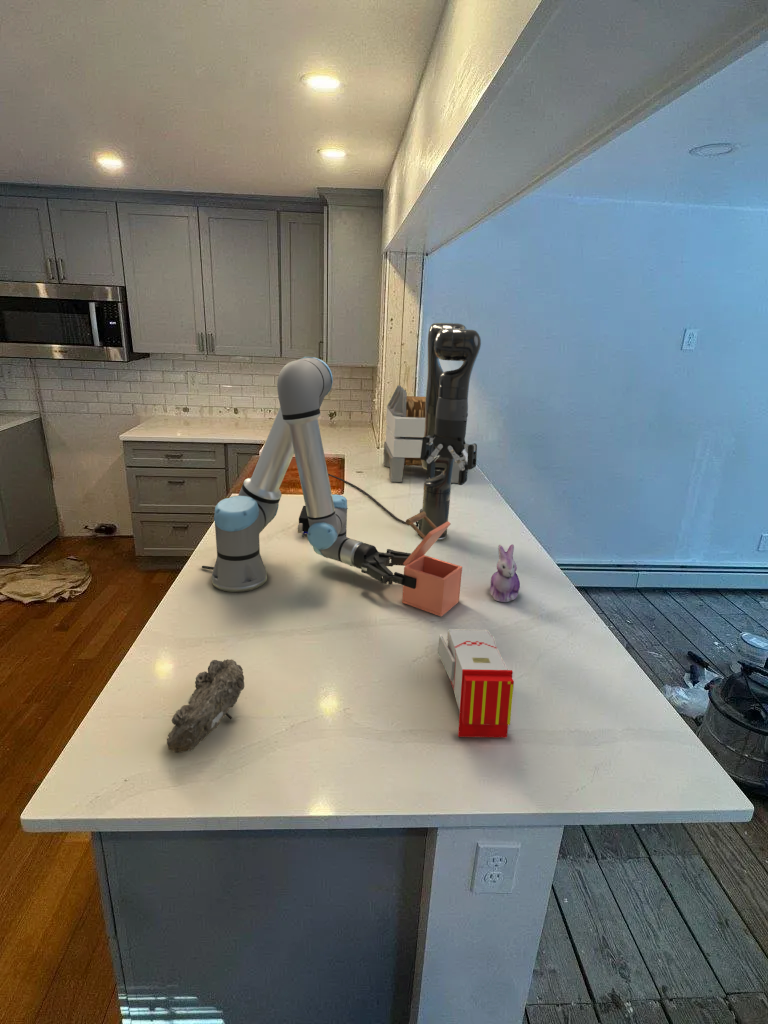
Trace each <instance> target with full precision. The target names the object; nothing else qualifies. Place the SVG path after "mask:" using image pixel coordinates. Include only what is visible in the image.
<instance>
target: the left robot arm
mask: <svg viewBox="0 0 768 1024" xmlns="http://www.w3.org/2000/svg"><path fill="white" fill-rule="evenodd" d="M276 380H277V382H276V383H277V384H276V388H277V389H276V390H277V399H278V401H279V408H278V411H277V413H276V416H275V419H274V421H273V423H272V426H271V428H270V431H269V433H268V436H267V438H266V440H265V442H264V446H263V448H262V449H261V453H260V455H259V458H258V460H257V462H256V465H255V467H254V470H253V473H252V474H251V476H250V477H247V478H246V479H244V480H243V483H242V485H241V487H240V490H239V493H238V494H237V495H233V496H229V498H226V497H225V498H223V499H221V500H220V501H219V502H217V504H216V505H215V507H214V514H213V515H214V517H213V522H214V531H215V543H216V544H215V545H216V558H215V563H214V566H208V565H201V569H203V570H204V569H205V570H210V571H211V570H212V572H211V584H212V586H213V587H214V588H216V589H218V590H220V591H223V592H227V593H244V592H250V591H253V590H256V589H258V588H260V587H262V586H263V585H265V583H266V582H267V580H268V572H267V568H266V566H265V564H264V561H263V558H262V556H261V550H260V545H261V544H260V534H261V533H262V532H263V530H264V529H265V528H266V527H267V526H268V525H269V524H270V523H271V522H272V521H273V520H274V518H275V517H276V515H277V513H278V510H279V503H280V501H281V498H282V494H283V493H282V491H281V490H280V489H281V488H280V487H281V485H282V483H283V481H284V478H285V476H286V475H287V471H288V469H289V467H290V464H291V463H292V460H293V457H294V458H295V463H296V467H297V472H298V477H299V481H300V486H301V487H300V488H301V491H302V496H303V501H304V506H306V511H307V515H308V520H309V526H310V528H309V529H308V534H306V536H307V542H308V543H309V545H310V546H311V547H312V549H313V551H314V552H315V553H316V554H317V555H320V556H322V557H324V558H326V559H331V560H334V561H337V562H340V563H342V564H345V565H349V567H354V568H357V569H359V570H361V573H363V574H366V575H368V576H369V577H371V578H373V579H375V580H376V581H377V582H380V584H383V585H389V586H392V585H393V583H395V584H398V585H402V586H403V585H404V586H407V587H410V588H413V589H415V588H416V579H415V578H412V577H409V576H406V575H404V573H400V572H398V571H395V572H392V570H390V569H389V567H394V566H402V567H405V565H404V564H403V563H404V562H405V561H406V559H407V558H408V557H409V556H410V555H411V553H412V552H411V553H410V552H404V551H399V550H394V549H390V548H387V549H386V552H381V551H379V550H378V549H377V547H376V546H375V545H373V544H370V543H367V542H363V541H360V540H356V539H353V538H350V537H349V536H347V530H348V529H347V526H348V509H349V507H348V499H347V497H346V496H344V495H342V494H335V493H334V494H333V493H332V487H331V483H330V482H331V481H330V478H329V477H330V476H329V475H328V474H329V471H328V467H327V466H328V465H327V461H326V455H325V452H324V446H323V440H322V436H321V429H320V425H319V417H320V416H321V406H322V404H323V402H324V399H325V397H326V396H327V395H328V394H329V393H330V392H331V390H332V387H333V383H334V377H333V372H332V370H331V368H330V367H329V365H328V364H327V363H326V362H325V361H324V360H322V359H321V358H317V357H314V356H303V357H301V358H299V359H296V360H292V361H289V362H287V363H286V364H285V365H284V366H283V367H282V368H281V370H280V371H279V373H278V377H277V379H276Z"/></svg>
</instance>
